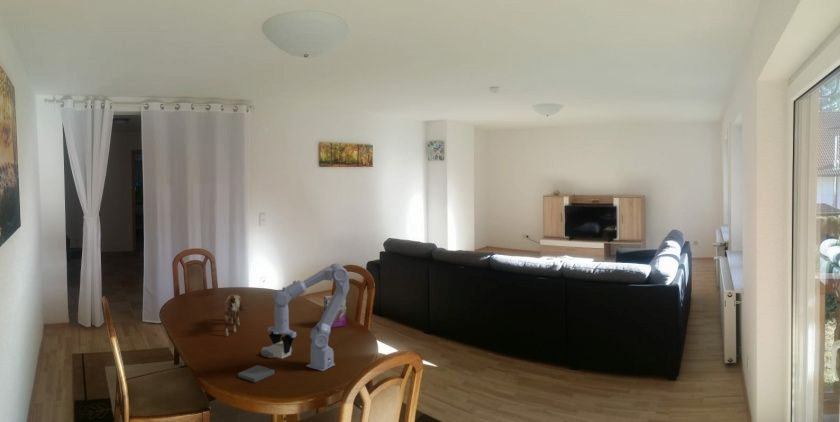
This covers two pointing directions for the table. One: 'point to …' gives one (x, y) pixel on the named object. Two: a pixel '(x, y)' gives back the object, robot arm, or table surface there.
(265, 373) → the slate tile
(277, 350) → the cube
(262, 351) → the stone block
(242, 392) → the table surface
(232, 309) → the brown animal figure
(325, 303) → the candy bar box
